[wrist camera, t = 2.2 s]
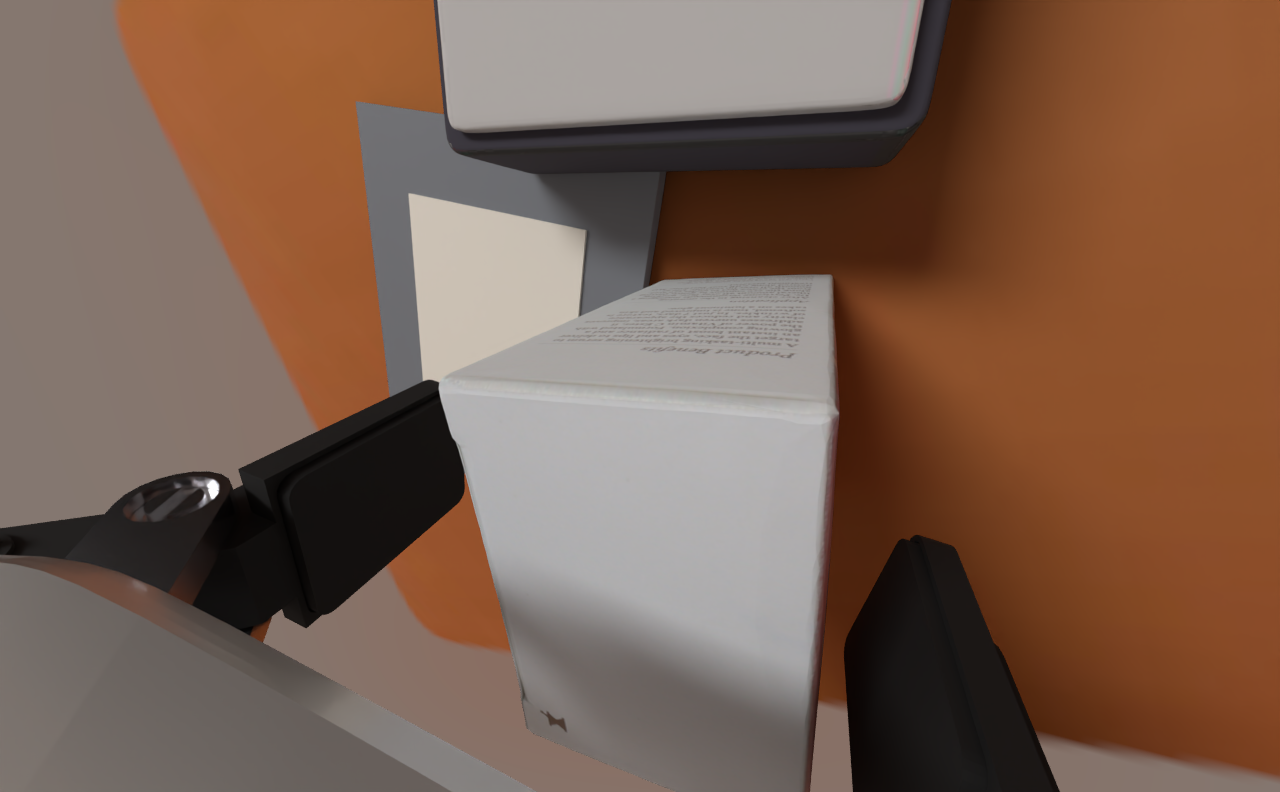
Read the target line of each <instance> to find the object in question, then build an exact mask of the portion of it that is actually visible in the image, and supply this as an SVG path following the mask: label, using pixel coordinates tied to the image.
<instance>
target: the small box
mask: <svg viewBox="0 0 1280 792" xmlns="http://www.w3.org/2000/svg"><path fill="white" fill-rule="evenodd" d="M833 289H834V281H833V277H832V275H829V274H828V275H774V276H748V277H719V278H692V279H674V280H662V281H660V282H658V283H656V284H653V285H651V286H649V287H646V288H644V289H642V290H639V291H637V292H635V293H632V294H630V295H628V296H625V297H623V298H621V299H618V300H616V301H614V302H612V303H609V304H607V305H604V306H602V307H600V308H598V309H596V310H593V311H591V312H589V313H586V314H584V315H582V316H580V317H577V318H575V319H573V320H570V321H568V322H566V323H564V324H562V325H560V326H557V327H555V328H553V329H551V330H548V331H546V332H543V333H541V334H539V335H537V336H534V337H532V338H530V339H528V340H525V341H523V342H521V343H518V344H516V345H514V346H512V347H509V348H507V349H505V350H503V351H500V352H498V353H496V354H494V355H491V356H489V357H486V358H484V359H482V360H480V361H477V362H475V363H473V364H471V365H468V366H466V367H464V368H461V369H459V370H456V371H454V372H452V373H449V374H448V375H446V376H444V377H443V378H442V379H441V381H440V383H439V393H440V398H441V402H442V405H443V409H444V412H445V416H446V419H447V423H448V426H449V430H450V433H451V435H452V438H453V439H454V440H455V441H456V444H457V447H458V450H459V453H460V457H461V460H462V463H463V466H464V470H465V474H466V478H467V482H468V486H469V489H470V493H471V497H472V501H473V505H474V508H475V512H476V516H477V520H478V523H479V526H480V530H481V534H482V538H483V543H484V546H485V549H486V553H487V558H488V562H489V566H490V569H491V573H492V577H493V581H494V585H495V589H496V592H497V596H498V599H499V603H500V607H501V612H502V616H503V620H504V624H505V628H506V632H507V636H508V640H509V645H510V649H511V652H512V656H513V660H514V664H515V668H516V673H517V677H518V682H519V686H520V691H521V701H522V706H523V711H524V716H525V722H526V727H527V729H528V730H530V731H531V732H532V733H533V734H536V735H538V736H540V737H543V738H545V739H548V740H550V741H552V742H554V743H557V744H560V745H562V746H565V747H567V748H569V749H571V750H573V751H576V752H578V753H581V754H584V755H586V756H589V757H591V758H593V759H596V760H598V761H601V762H603V763H605V764H608V765H611V766H613V767H616V768H619V769H621V770H623V771H626V772H628V773H631V774H633V775H636V776H638V777H640V778H643V779H645V780H647V781H650V782H652V783H655V784H657V785H660V786H663V787H665V788H668V789H670V790H673V791H675V792H810V783H811V772H812V760H813V750H814V739H815V728H816V717H817V706H818V695H819V685H820V674H821V663H822V653H823V643H824V633H825V620H826V606H827V593H828V580H829V567H830V553H831V538H832V523H833V509H834V488H835V469H836V455H837V441H838V428H839V418H840V407H839V387H838V371H837V345H836V333H835V322H834V295H833Z"/></svg>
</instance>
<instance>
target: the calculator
mask: <svg viewBox="0 0 1280 792" xmlns="http://www.w3.org/2000/svg"><path fill="white" fill-rule="evenodd" d="M951 1H952V0H434V10H435V20H436V31H437V42H438V53H439V64H440V75H441V86H442V97H443V108H444V118H445V129H446V135H447V140H448V143H449V145H450V147H451V148H452V149H453V151H455V152H456V153H458V154H460V155H463V156H466V157H470V158H474V159H477V160H481V161H485V162H488V163H492V164H496V165H500V166H503V167H507V168H511V169H515V170H519V171H523V172H527V173H531V174H568V173H616V172H663V171H710V170H757V169H804V168H851V167H877V166H881V165H884V164H886V163H888V162H889V161H891V160H892V159H893V158H894V157H895V156H896V155H897V154H898V152H899V151H900V150H901V149H902V147H903V146H904V145H905V144H906V143H907V141H908V140H909V139H910V138H911V136H912V135H913V134H914V133H915V132H916V130H917V129H918V128H919V126H920V125H921V124H922V122H923V120H924V119H925V117H926V115H927V112H928V109H929V105H930V102H931V97H932V93H933V89H934V84H935V79H936V74H937V69H938V64H939V59H940V54H941V50H942V45H943V40H944V35H945V30H946V25H947V20H948V16H949V11H950V6H951Z"/></svg>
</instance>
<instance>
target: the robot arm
mask: <svg viewBox="0 0 1280 792" xmlns="http://www.w3.org/2000/svg"><path fill="white" fill-rule="evenodd" d="M439 383H440V382H437V381H434V380H425V381H423V382H421V383H418V384H416V385H414V386H412V387H410V388H408V389H406V390H404V391H402V392H400V393H397V394H395V395H393V396H391V397H389V398H387V399H385V400H383V401H381V402H379V403H376V404H374V405H372V406H370V407H368V408H366V409H364V410H362V411H360V412H358V413H355V414H353V415H351V416H349V417H347V418H345V419H343V420H341V421H339V422H337V423H334V424H332V425H330V426H328V427H326V428H324V429H322V430H320V431H318V432H316V433H313V434H311V435H309V436H307V437H305V438H303V439H301V440H299V441H297V442H295V443H293V444H290V445H288V446H286V447H284V448H282V449H280V450H278V451H276V452H274V453H271V454H269V455H267V456H265V457H264V458H261V459H259V460H257V461H255V462H253V463H251V464H248V465H247V466H244V467H242V468H240V469H239V473H240V476H241V480H242V483H243V485H242V486H240V487H238V488H236V489H234V490H233V488H232V485H231V482H230V480H229V478H227V477H225V476H224V475H222V474H219V473H214V472H209V471H208V472H207V471H206V472H205V471H204V472H187V473H181V474H175V475H171V476H167V477H163V478H160V479H156V480H154V481H151V482H149V483H146V484H144V485H141V486H139V487H138V488H136V489H134V490H132V491H130V492H128V493H127V494H125V495H124V496H123V497H121V498H120V499H119V500H118V501H117V502H115V503H114V504H113V505H112V506H111V508H110V509H109V510H108V511H107V512H106V513H105V514H103V515H95V516H88V517H81V518H74V519H67V520H59V521H51V522H45V523H37V524H31V525H23V526H16V527H8V528H0V792H536V791H534V790H533V789H531V788H529V787H527V786H525V785H524V784H522V783H520V782H518V781H516V780H515V779H513V778H511V777H509V776H507V775H505V774H504V773H502V772H500V771H498V770H496V769H494V768H493V767H491V766H489V765H487V764H485V763H483V762H482V761H480V760H478V759H476V758H474V757H472V756H471V755H468V754H467V753H465V752H463V751H462V750H460V749H458V748H456V747H454V746H452V745H450V744H449V743H447V742H445V741H443V740H441V739H440V738H438V737H436V736H434V735H432V734H430V733H429V732H426V731H425V730H423V729H421V728H419V727H418V726H416V725H414V724H412V723H410V722H408V721H407V720H405V719H403V718H401V717H399V716H397V715H396V714H394V713H392V712H390V711H388V710H386V709H384V708H382V707H381V706H379V705H377V704H375V703H374V702H372V701H370V700H368V699H366V698H364V697H363V696H361V695H358V694H357V693H355V692H353V691H351V690H349V689H348V688H346V687H344V686H342V685H340V684H339V683H337V682H335V681H333V680H331V679H329V678H327V677H326V676H324V675H322V674H320V673H318V672H316V671H314V670H313V669H310V668H309V667H307V666H305V665H303V664H301V663H299V662H298V661H296V660H294V659H292V658H290V657H288V656H286V655H284V654H283V653H281V652H279V651H277V650H275V649H273V648H271V647H270V646H268V645H266V644H264V643H263V641H264V638H265V635H266V632H267V629H268V627H269V624H270V621H271V618H272V616H273V615H274V614H276V613H277V612H278V611H279V610H281V609H282V610H283V613H284V616H285V617H286V618H287V619H289V620H291V621H293V622H295V623H297V624H299V625H301V626H303V627H305V628H307V627H309V625H311V624H312V623H313V622H314V621H315V620H317V619H318V618H319V617H320V616H321V615H325V614H329V613H331V612H332V611H334V610H335V609H336V608H337V607H339V606H340V605H341V604H342V603H343V602H345V601H346V600H347V599H348V598H349V597H350V596H351V595H353V594H354V593H355V592H356V591H357V590H358V589H360V588H361V587H362V586H363V585H364V584H365V583H367V582H368V581H369V580H370V579H371V578H372V577H374V576H375V575H376V574H377V573H378V572H379V571H380V570H382V569H383V568H384V567H385V566H386V565H387V564H389V563H390V562H391V561H392V560H393V559H394V558H395V557H397V556H398V555H399V554H400V553H401V552H402V551H404V550H405V549H406V548H407V547H408V546H409V545H410V544H412V543H413V542H414V541H415V540H416V539H417V538H419V537H420V536H421V535H422V534H423V533H424V532H425V531H427V530H428V529H429V528H430V527H431V526H432V525H434V524H435V523H436V522H437V521H438V520H439V519H440V518H442V517H443V516H444V515H445V514H446V513H447V512H449V511H450V510H451V509H452V508H453V507H454V506H455V505H457V504H458V503H459V501H460V500H461V498H462V496H463V494H464V489H465V484H464V466H463V463H462V460H461V457H460V453H459V450H458V447H457V444H456V441H455V440H454V439H453V438H452V435H451V433H450V430H449V426H448V423H447V419H446V416H445V412H444V409H443V405H442V402H441V398H440V393H439ZM844 663H845V678H846V693H847V708H848V723H849V737H850V753H851V768H852V784H853V792H1060V791H1059V789H1058V786H1057V784H1056V781H1055V779H1054V777H1053V774H1052V772H1051V769H1050V767H1049V765H1048V762H1047V760H1046V757H1045V755H1044V752H1043V750H1042V748H1041V745H1040V743H1039V740H1038V738H1037V735H1036V733H1035V731H1034V728H1033V726H1032V723H1031V721H1030V718H1029V716H1028V714H1027V711H1026V709H1025V706H1024V704H1023V701H1022V699H1021V697H1020V694H1019V692H1018V689H1017V687H1016V684H1015V682H1014V680H1013V677H1012V675H1011V672H1010V670H1009V668H1008V665H1007V663H1006V660H1005V658H1004V656H1003V654H1002V652H1001V651H1000V649H999V647H998V646H997V645H996V644H994V643H993V640H992V638H991V635H990V633H989V630H988V628H987V625H986V623H985V620H984V618H983V615H982V613H981V610H980V608H979V605H978V603H977V600H976V598H975V595H974V593H973V591H972V588H971V586H970V583H969V581H968V578H967V576H966V573H965V571H964V568H963V566H962V563H961V561H960V558H959V556H958V553H957V551H956V549H955V548H954V547H953V546H951V545H948V544H945V543H942V542H939V541H935V540H932V539H929V538H926V537H923V536H920V535H915V536H913V537H912V538H911V539H910V541H909V540H906V539H901V540H899V541H898V543H897V544H896V546H895V548H894V550H893V552H892V554H891V555H890V557H889V559H888V561H887V563H886V565H885V567H884V568H883V570H882V572H881V574H880V576H879V578H878V580H877V581H876V583H875V585H874V587H873V589H872V591H871V593H870V594H869V596H868V598H867V600H866V602H865V604H864V606H863V607H862V609H861V611H860V613H859V615H858V617H857V619H856V620H855V622H854V624H853V626H852V628H851V630H850V632H849V633H848V636H847V638H846V642H845V647H844Z"/></svg>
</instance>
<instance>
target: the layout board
mask: <svg viewBox="0 0 1280 792" xmlns="http://www.w3.org/2000/svg"><path fill="white" fill-rule="evenodd" d="M356 108H357V116H358V125H359V134H360V142H361V151H362V160H363V168H364V177H365V185H366V194H367V203H368V211H369V220H370V229H371V237H372V246H373V255H374V263H375V272H376V281H377V289H378V298H379V307H380V315H381V324H382V333H383V341H384V350H385V359H386V367H387V376H388V385H389V393H390V397H391V396H393V395H395V394H397V393H400V392H402V391H404V390H406V389H408V388H410V387H412V386H414V385H416V384H418V383H421V382H423V381H425V380H434V381H437V382H440V381H441V379H442V378H443V377H444V376H446V375H448V374H449V373H452V372H454V371H456V370H459V369H461V368H464V367H466V366H468V365H471V364H473V363H475V362H477V361H480V360H482V359H484V358H486V357H489V356H491V355H494V354H496V353H498V352H500V351H503V350H505V349H507V348H509V347H512V346H514V345H516V344H518V343H521V342H523V341H525V340H528V339H530V338H532V337H534V336H537V335H539V334H541V333H543V332H546V331H548V330H551V329H553V328H555V327H557V326H560V325H562V324H564V323H566V322H568V321H570V320H573V319H575V318H577V317H580V316H582V315H584V314H586V313H589V312H591V311H593V310H596V309H598V308H600V307H602V306H604V305H607V304H609V303H612V302H614V301H616V300H618V299H621V298H623V297H625V296H628V295H630V294H632V293H635V292H637V291H639V290H642V289H644V288H646V287H649V282H650V275H651V269H652V262H653V256H654V249H655V243H656V236H657V230H658V223H659V217H660V210H661V204H662V197H663V191H664V184H665V178H666V171H663V172H616V173H568V174H531V173H527V172H523V171H519V170H515V169H511V168H507V167H503V166H500V165H496V164H492V163H488V162H485V161H481V160H477V159H474V158H470V157H466V156H463V155H460V154H458V153H456V152H455V151H453V149H452V148H451V147H450V145H449V143H448V140H447V135H446V129H445V118H444V114H438V113H431V112H424V111H418V110H411V109H404V108H397V107H390V106H383V105H377V104H370V103H363V102H356ZM464 473H465V470H464Z"/></svg>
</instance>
